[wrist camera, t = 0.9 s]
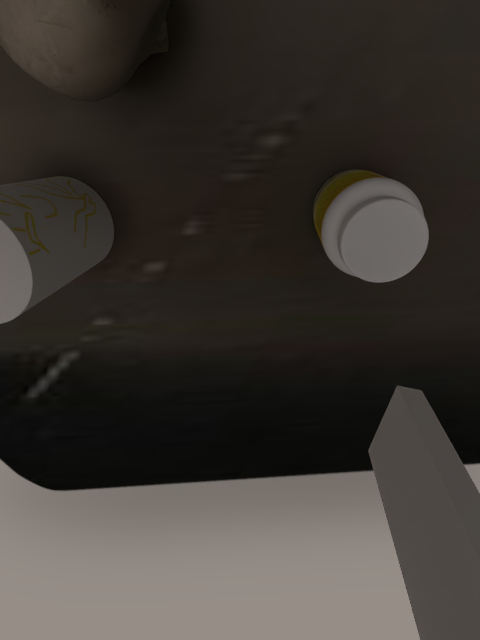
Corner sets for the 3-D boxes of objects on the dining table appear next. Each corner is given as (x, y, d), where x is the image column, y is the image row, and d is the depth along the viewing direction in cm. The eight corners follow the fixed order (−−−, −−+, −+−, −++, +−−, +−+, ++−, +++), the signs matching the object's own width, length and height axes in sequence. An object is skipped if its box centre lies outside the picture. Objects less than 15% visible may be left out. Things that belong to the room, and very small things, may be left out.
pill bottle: (301, 234, 31) (309, 277, 21) (328, 158, 28) (352, 167, 19) (370, 255, 31) (410, 308, 22) (404, 182, 29) (467, 203, 19)
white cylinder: (128, 210, 32) (49, 246, 21) (94, 283, 35) (12, 345, 25) (41, 156, 31) (-88, 164, 20) (15, 237, 34) (-107, 281, 23)
